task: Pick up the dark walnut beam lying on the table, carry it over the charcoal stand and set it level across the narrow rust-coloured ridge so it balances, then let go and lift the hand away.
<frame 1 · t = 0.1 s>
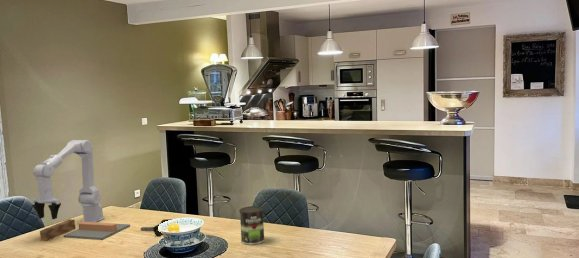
hand: (48, 218, 208), 10 cm above the table, tool pointing down, fingers open, 7 cm apart
walnut beam: (58, 235, 215), on the table
coffee can: (253, 241, 194), on the table
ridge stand: (97, 231, 217), on the table
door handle: (160, 230, 217), on the table
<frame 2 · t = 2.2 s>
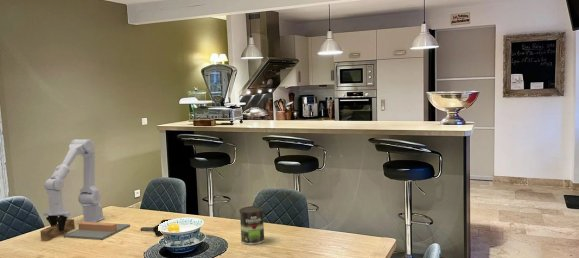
hand: (58, 230, 215), 2 cm above the table, tool pointing down, fingers closed on walnut beam, 4 cm apart
walnut beam: (58, 234, 215), on the table, touching gripper
everything else where it was.
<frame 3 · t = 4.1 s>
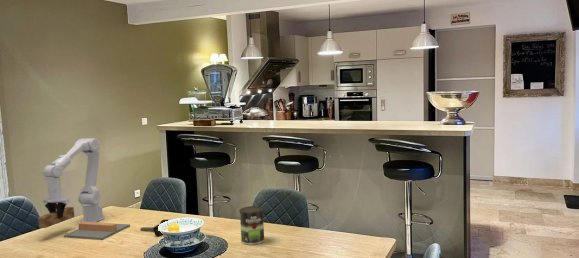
hand: (57, 217, 214), 8 cm above the table, tool pointing down, fingers closed on walnut beam, 3 cm apart
walnut beam: (57, 222, 215), point 6 cm above the table, touching gripper
everything else where it was.
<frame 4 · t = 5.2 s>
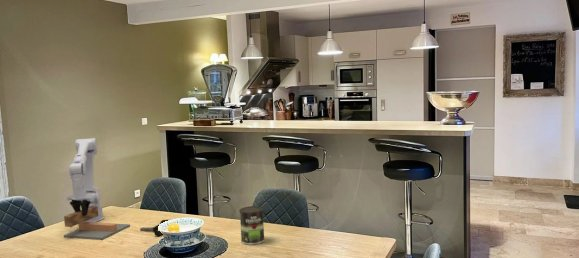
hand: (81, 215, 215), 9 cm above the table, tool pointing down, fingers closed on walnut beam, 3 cm apart
walnut beam: (82, 221, 216), point 6 cm above the table, touching gripper
everything else where it was.
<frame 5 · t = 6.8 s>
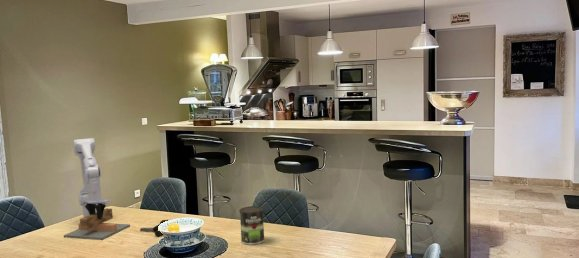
hand: (96, 218, 216), 7 cm above the table, tool pointing down, fingers closed on walnut beam, 3 cm apart
walnut beam: (97, 223, 216), point 4 cm above the table, touching gripper, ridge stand
everything else where it was.
when the fingers open (7 cm above the table, at t = 7.5 s): walnut beam stays where it is, resting on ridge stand.
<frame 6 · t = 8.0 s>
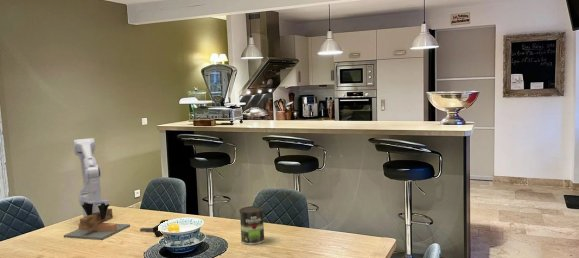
hand: (96, 218, 216), 7 cm above the table, tool pointing down, fingers open, 7 cm apart
walnut beam: (97, 223, 216), point 4 cm above the table, touching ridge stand
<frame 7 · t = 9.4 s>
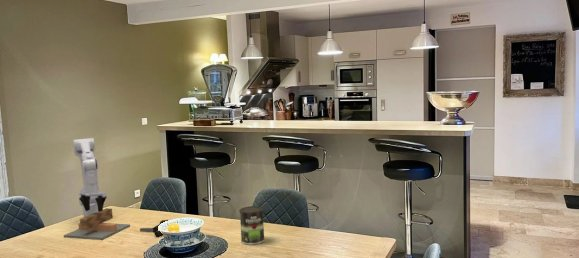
hand: (94, 210, 216), 10 cm above the table, tool pointing down, fingers open, 7 cm apart
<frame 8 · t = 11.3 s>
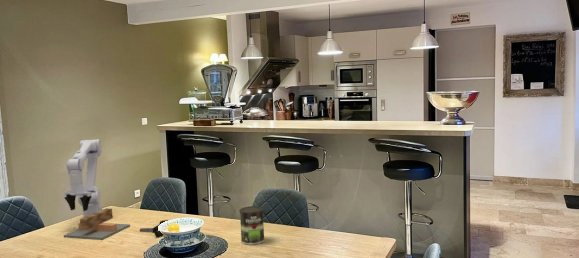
hand: (79, 210, 219), 10 cm above the table, tool pointing down, fingers open, 7 cm apart
at the end: walnut beam 0.1 cm off-centre on the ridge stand, point 4.0 cm above the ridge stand's base; walnut beam tilted 0°; the gripper is holding nothing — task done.
